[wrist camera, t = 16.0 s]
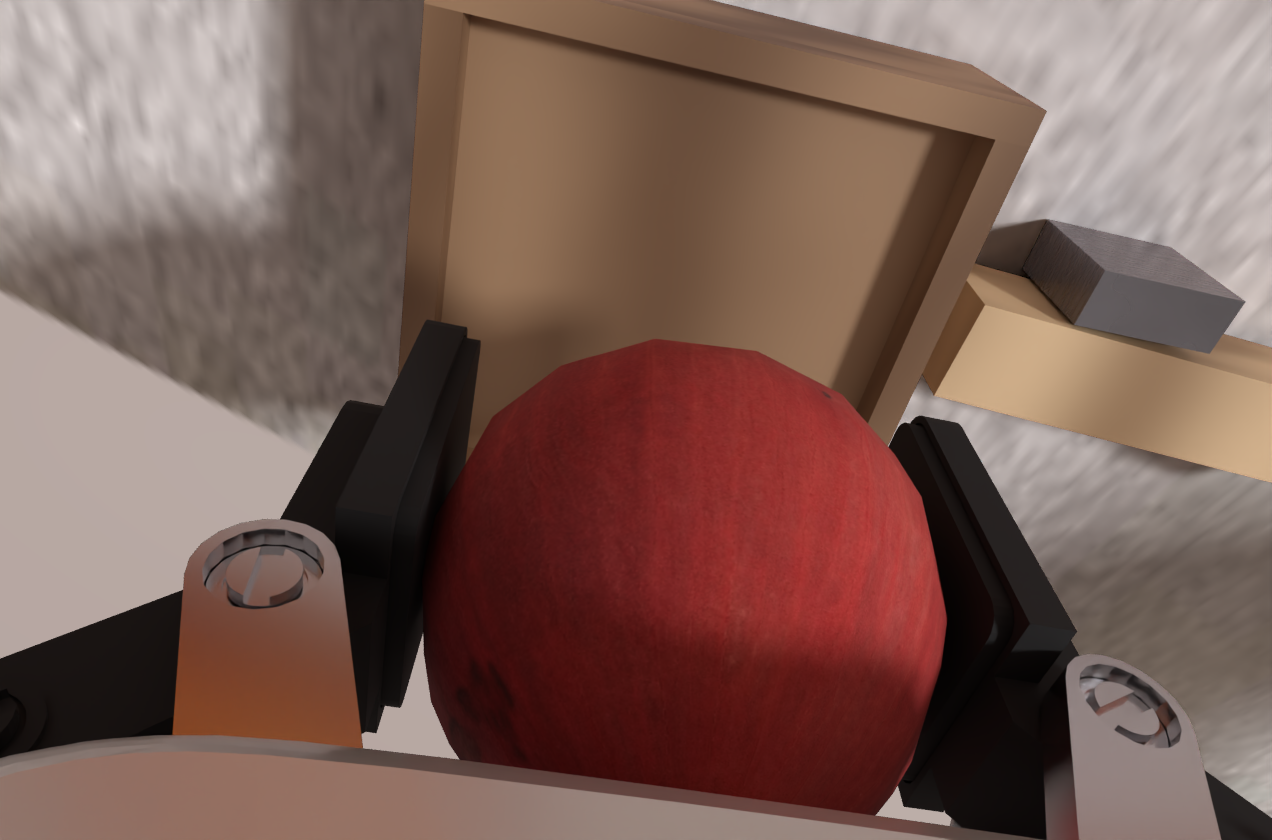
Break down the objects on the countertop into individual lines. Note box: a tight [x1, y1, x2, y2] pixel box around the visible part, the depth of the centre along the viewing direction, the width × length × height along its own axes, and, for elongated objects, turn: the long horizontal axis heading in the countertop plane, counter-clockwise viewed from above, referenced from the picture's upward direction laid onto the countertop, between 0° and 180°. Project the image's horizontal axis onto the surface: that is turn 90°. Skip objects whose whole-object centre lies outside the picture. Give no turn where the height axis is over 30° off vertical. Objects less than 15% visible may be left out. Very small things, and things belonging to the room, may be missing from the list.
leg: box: [922, 263, 1272, 483], centre depth 19 cm, size 13×3×2 cm, turn 74°
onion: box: [422, 339, 947, 816], centre depth 10 cm, size 6×6×8 cm
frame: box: [1023, 219, 1245, 354], centre depth 19 cm, size 11×5×4 cm, turn 78°
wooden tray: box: [398, 0, 1047, 464], centre depth 17 cm, size 10×10×4 cm
